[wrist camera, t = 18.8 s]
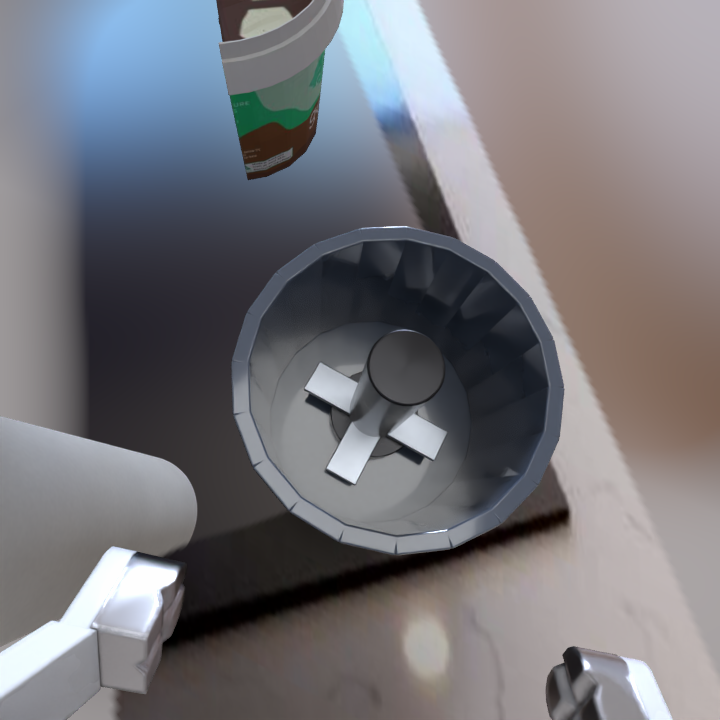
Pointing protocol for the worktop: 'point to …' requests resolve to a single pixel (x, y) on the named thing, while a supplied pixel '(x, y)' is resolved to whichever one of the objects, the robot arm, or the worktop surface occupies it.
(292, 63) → the food container
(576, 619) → the worktop surface
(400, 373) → the blade unit
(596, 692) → the robot arm
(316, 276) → the processor bowl
